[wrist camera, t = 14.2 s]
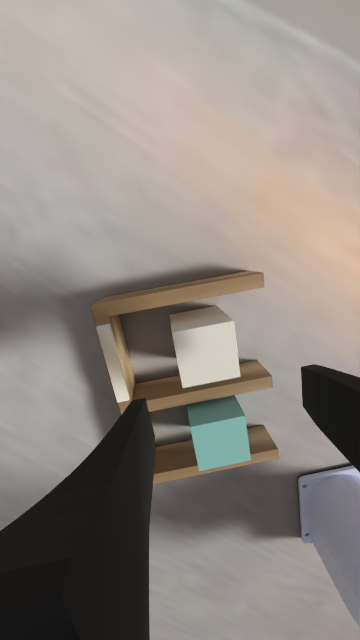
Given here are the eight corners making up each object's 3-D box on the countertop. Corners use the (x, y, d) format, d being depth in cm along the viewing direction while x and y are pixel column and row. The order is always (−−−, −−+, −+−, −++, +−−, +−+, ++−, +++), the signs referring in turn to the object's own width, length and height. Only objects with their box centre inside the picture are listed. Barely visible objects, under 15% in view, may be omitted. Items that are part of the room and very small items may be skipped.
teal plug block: (232, 417, 23) (250, 460, 18) (191, 425, 23) (199, 471, 18) (226, 380, 22) (245, 415, 17) (183, 389, 22) (190, 427, 17)
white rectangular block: (222, 349, 21) (240, 376, 16) (177, 358, 21) (182, 388, 16) (216, 305, 20) (233, 320, 15) (169, 314, 20) (171, 332, 15)
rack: (264, 433, 23) (280, 461, 20) (144, 458, 23) (141, 489, 20) (248, 270, 19) (265, 272, 16) (101, 297, 19) (89, 305, 16)
